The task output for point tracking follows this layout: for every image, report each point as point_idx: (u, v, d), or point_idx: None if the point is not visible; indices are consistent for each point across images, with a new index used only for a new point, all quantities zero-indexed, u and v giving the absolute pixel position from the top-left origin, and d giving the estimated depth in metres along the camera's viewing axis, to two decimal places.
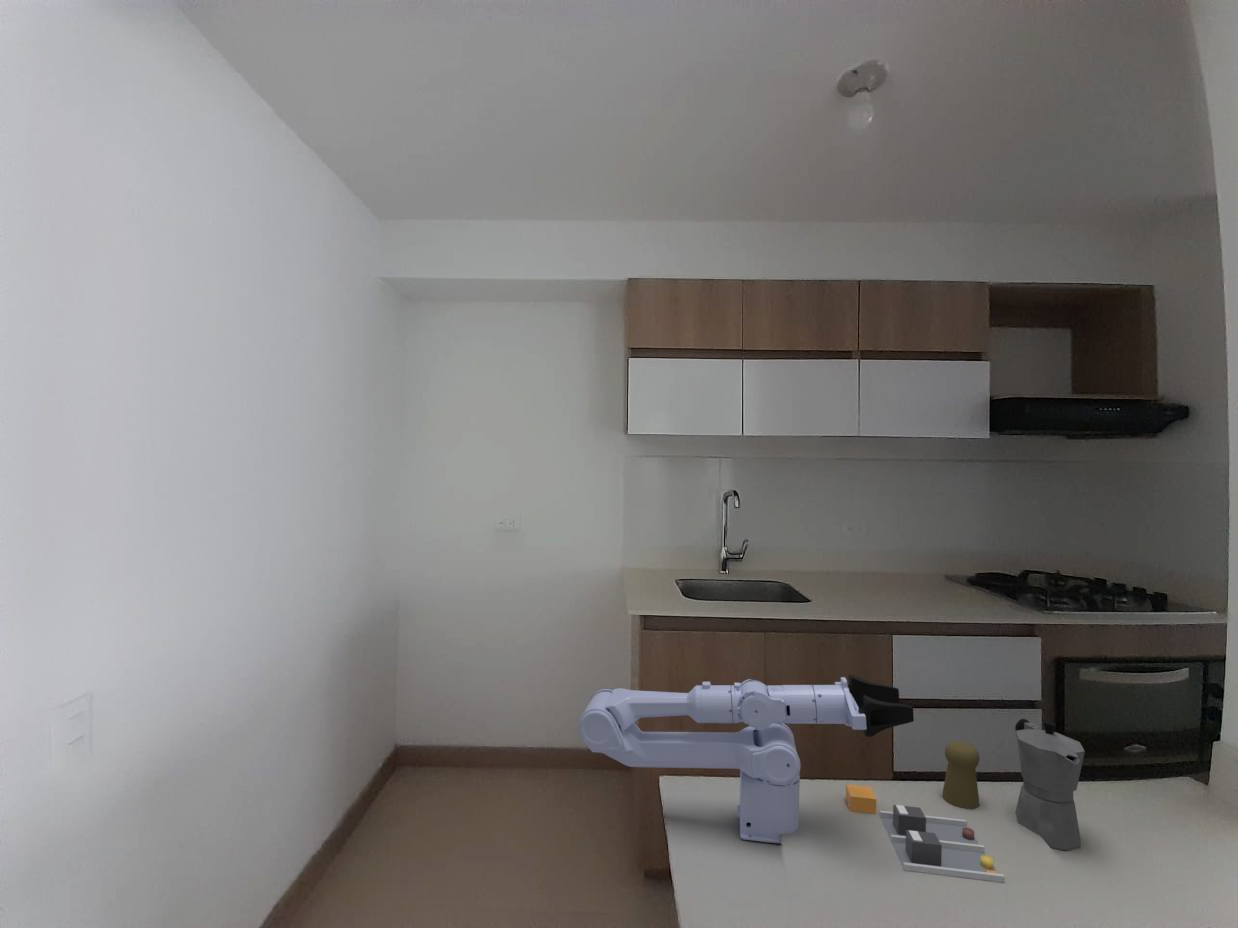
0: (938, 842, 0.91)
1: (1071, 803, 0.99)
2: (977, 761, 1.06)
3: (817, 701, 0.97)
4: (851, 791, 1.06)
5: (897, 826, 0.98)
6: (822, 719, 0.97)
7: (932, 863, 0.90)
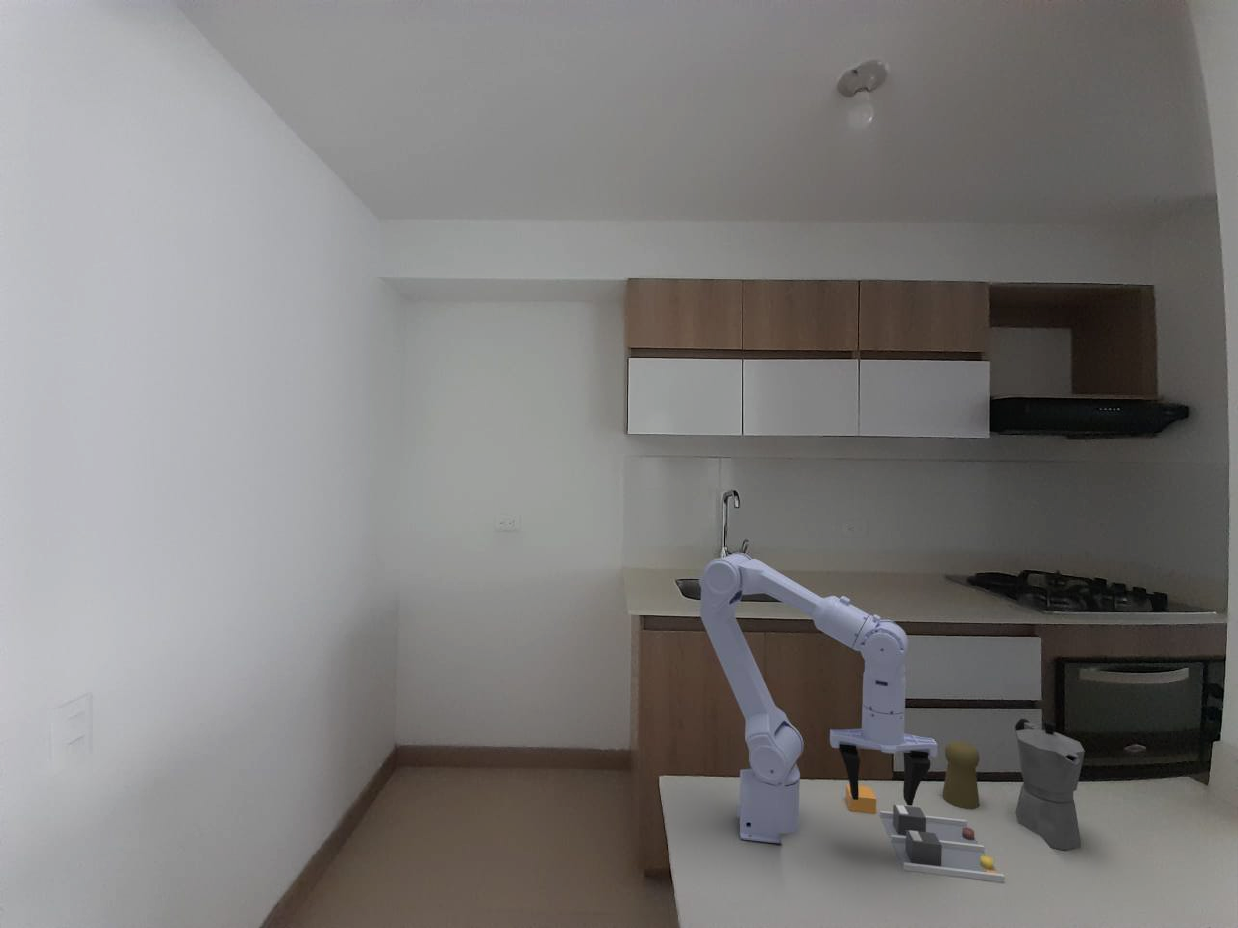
0: (938, 842, 0.91)
1: (1071, 803, 0.99)
2: (977, 761, 1.06)
3: (867, 710, 0.92)
4: None
5: (897, 826, 0.98)
6: None
7: (932, 863, 0.90)
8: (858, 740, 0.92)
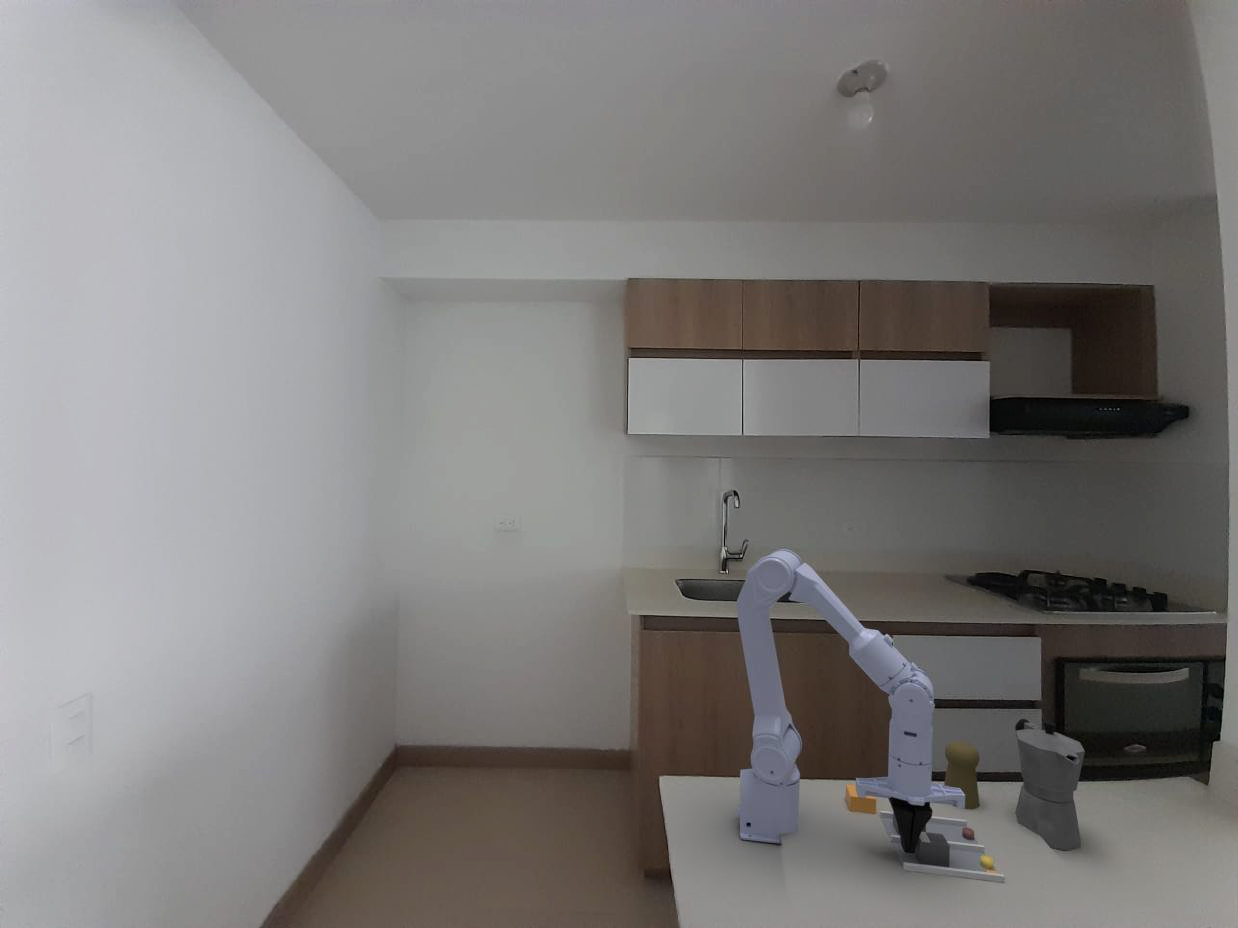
0: (946, 843, 0.91)
1: (1071, 803, 0.99)
2: (977, 761, 1.06)
3: (894, 760, 0.91)
4: (851, 791, 1.06)
5: (897, 826, 0.98)
6: None
7: (940, 864, 0.90)
8: (885, 790, 0.91)
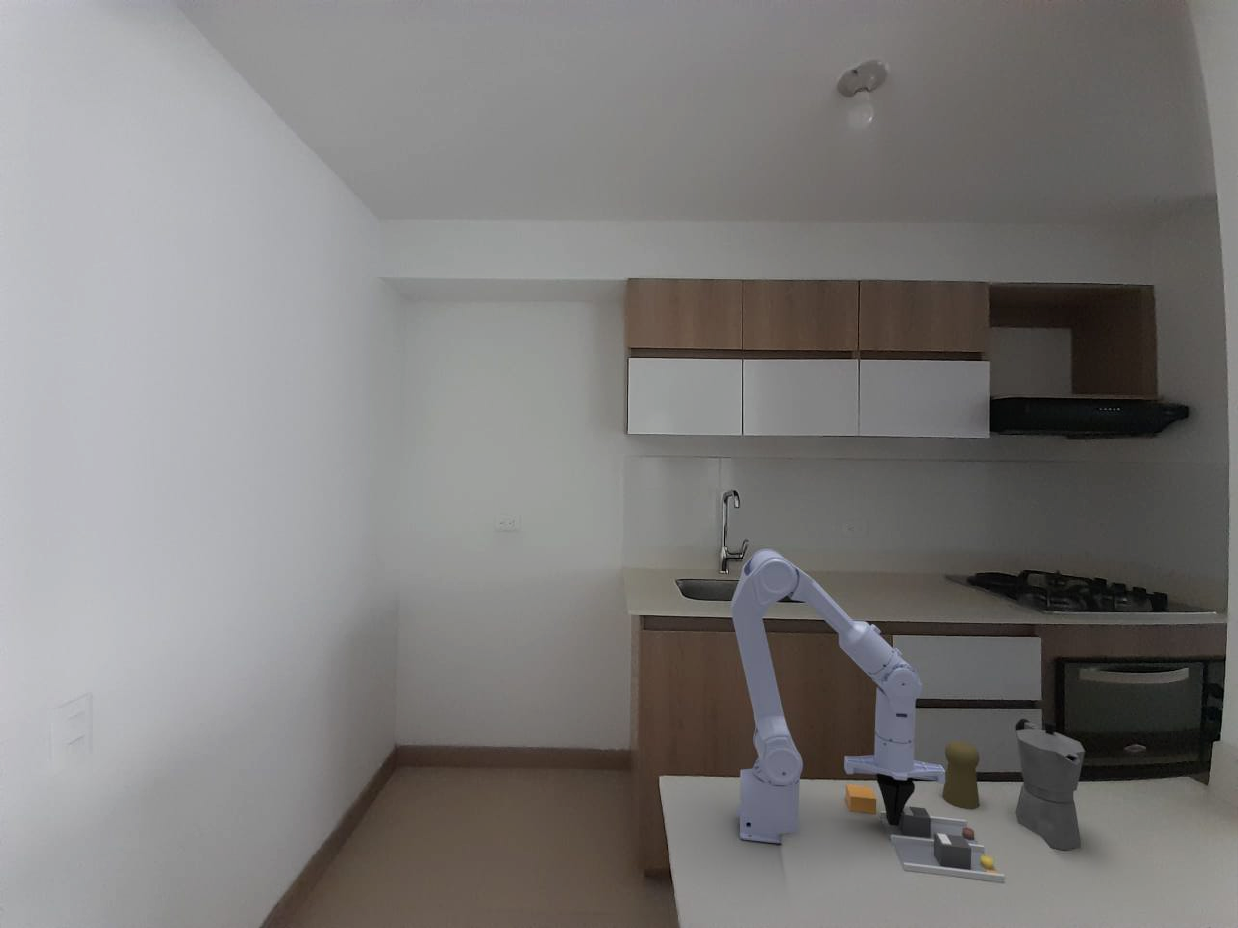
0: (967, 845, 0.90)
1: (1071, 803, 0.99)
2: (977, 761, 1.06)
3: (879, 738, 0.98)
4: (851, 791, 1.06)
5: (902, 827, 0.98)
6: None
7: (961, 867, 0.90)
8: (871, 767, 0.98)
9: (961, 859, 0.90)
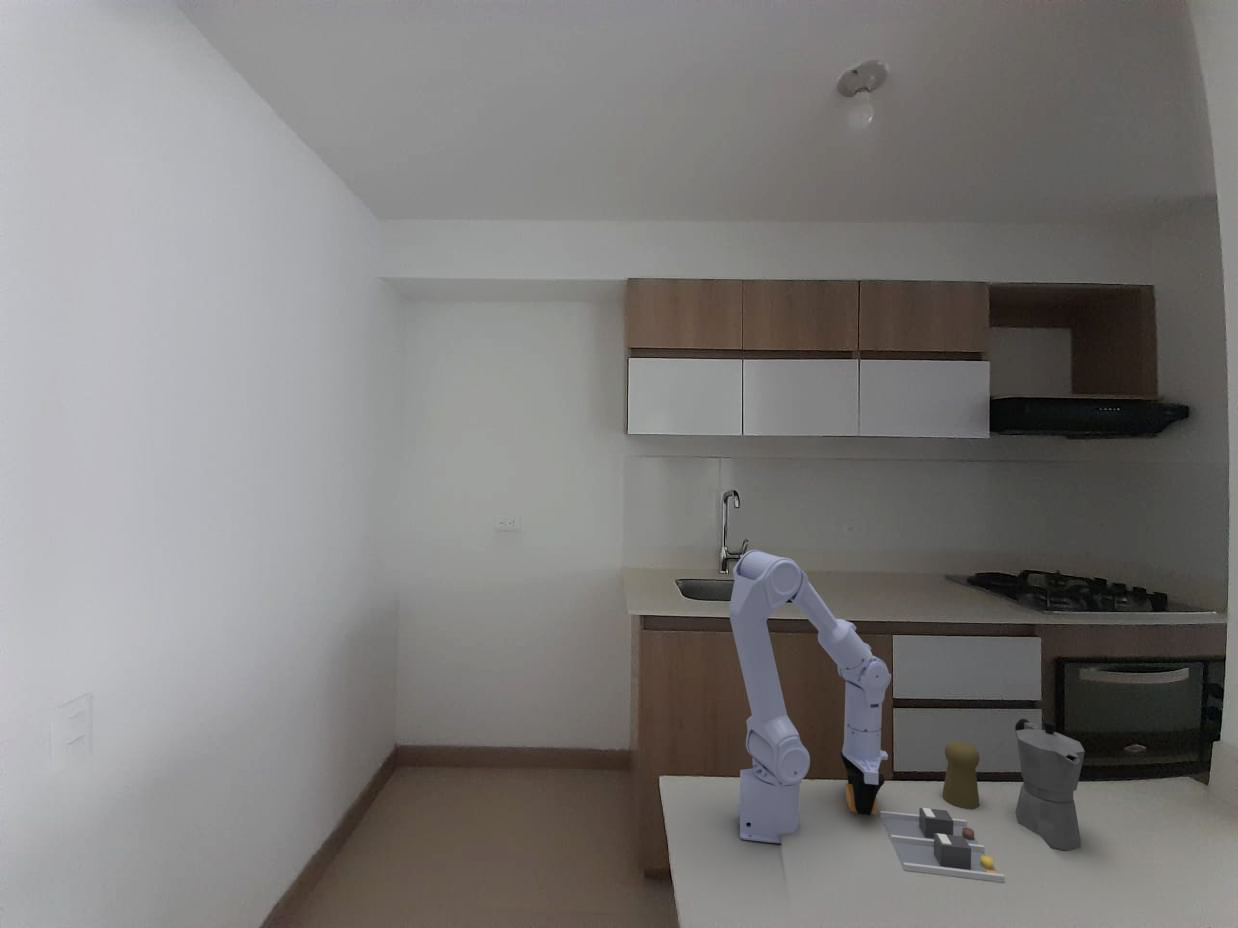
0: (967, 845, 0.90)
1: (1071, 803, 0.99)
2: (977, 761, 1.06)
3: (874, 733, 1.03)
4: (851, 790, 1.06)
5: (924, 829, 0.97)
6: (856, 735, 1.03)
7: (961, 867, 0.90)
8: (879, 763, 1.02)
9: (961, 859, 0.90)
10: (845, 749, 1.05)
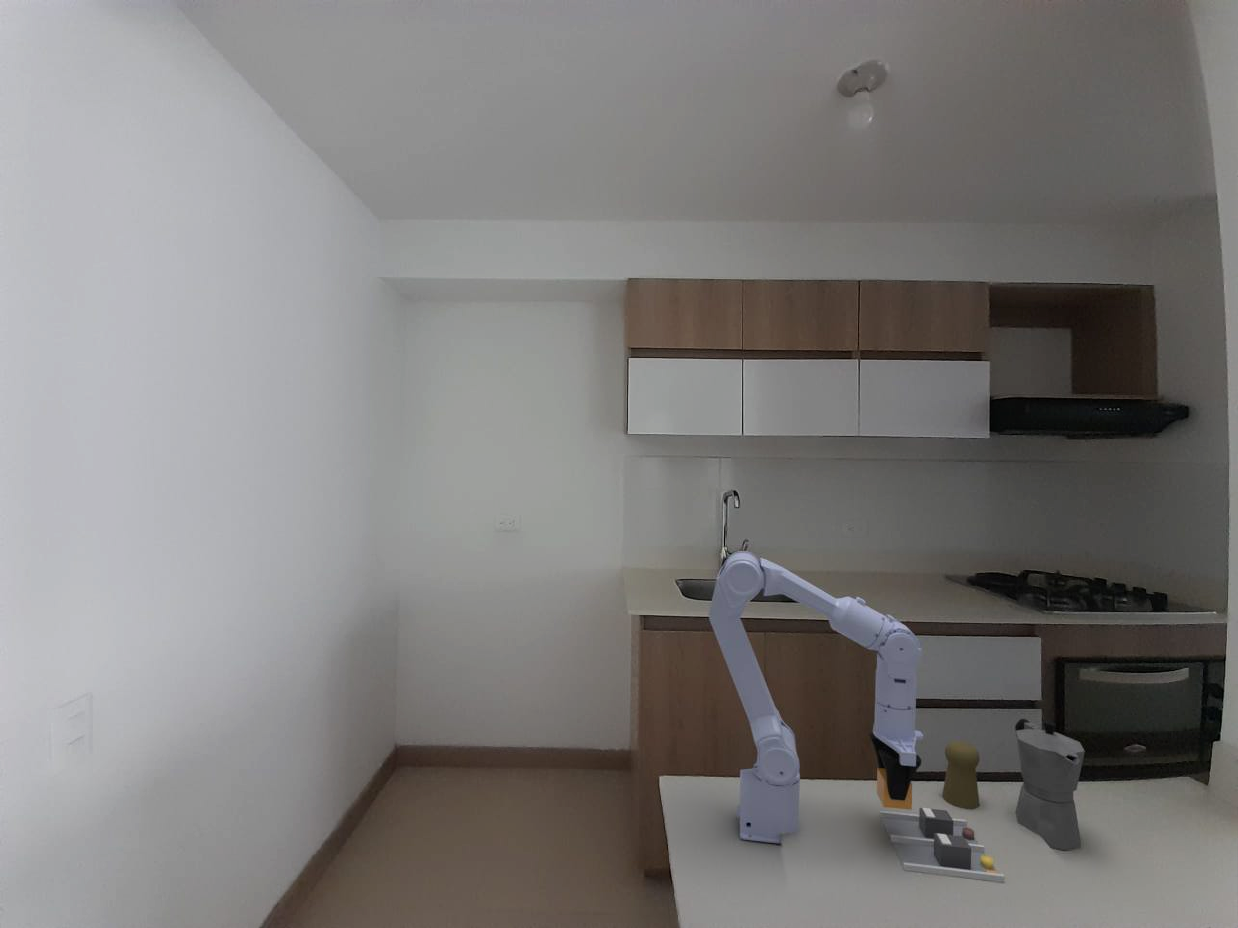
0: (967, 845, 0.90)
1: (1071, 803, 0.99)
2: (977, 761, 1.06)
3: (909, 711, 0.94)
4: (884, 775, 0.97)
5: (924, 829, 0.97)
6: (889, 713, 0.95)
7: (961, 867, 0.90)
8: (915, 743, 0.93)
9: (961, 859, 0.90)
10: (876, 729, 0.97)
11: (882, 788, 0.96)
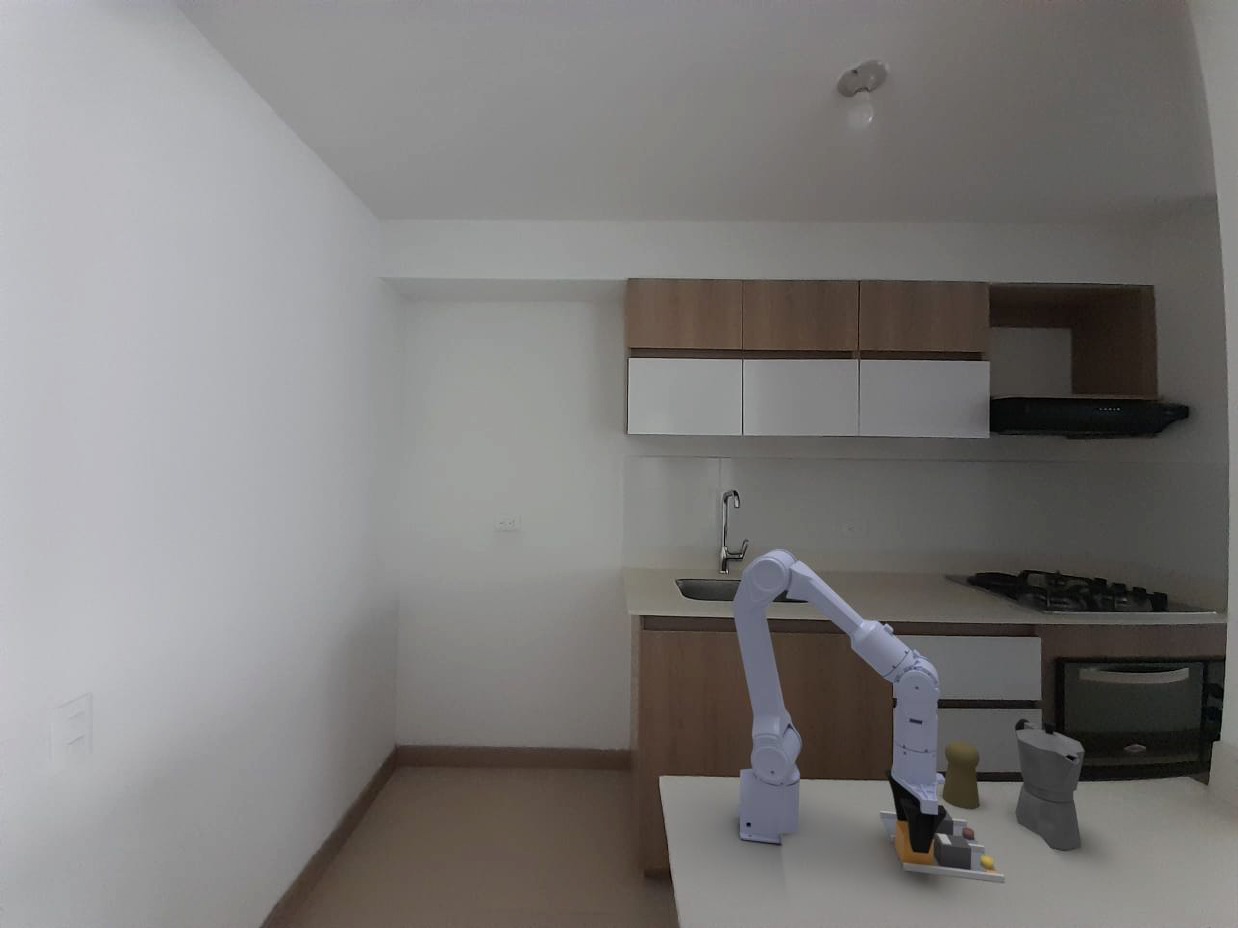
0: (967, 845, 0.90)
1: (1071, 803, 0.99)
2: (977, 761, 1.06)
3: (930, 753, 0.89)
4: (903, 829, 0.92)
5: None
6: (909, 755, 0.90)
7: (961, 867, 0.90)
8: (936, 789, 0.88)
9: (961, 859, 0.90)
10: (895, 771, 0.92)
11: (901, 843, 0.91)
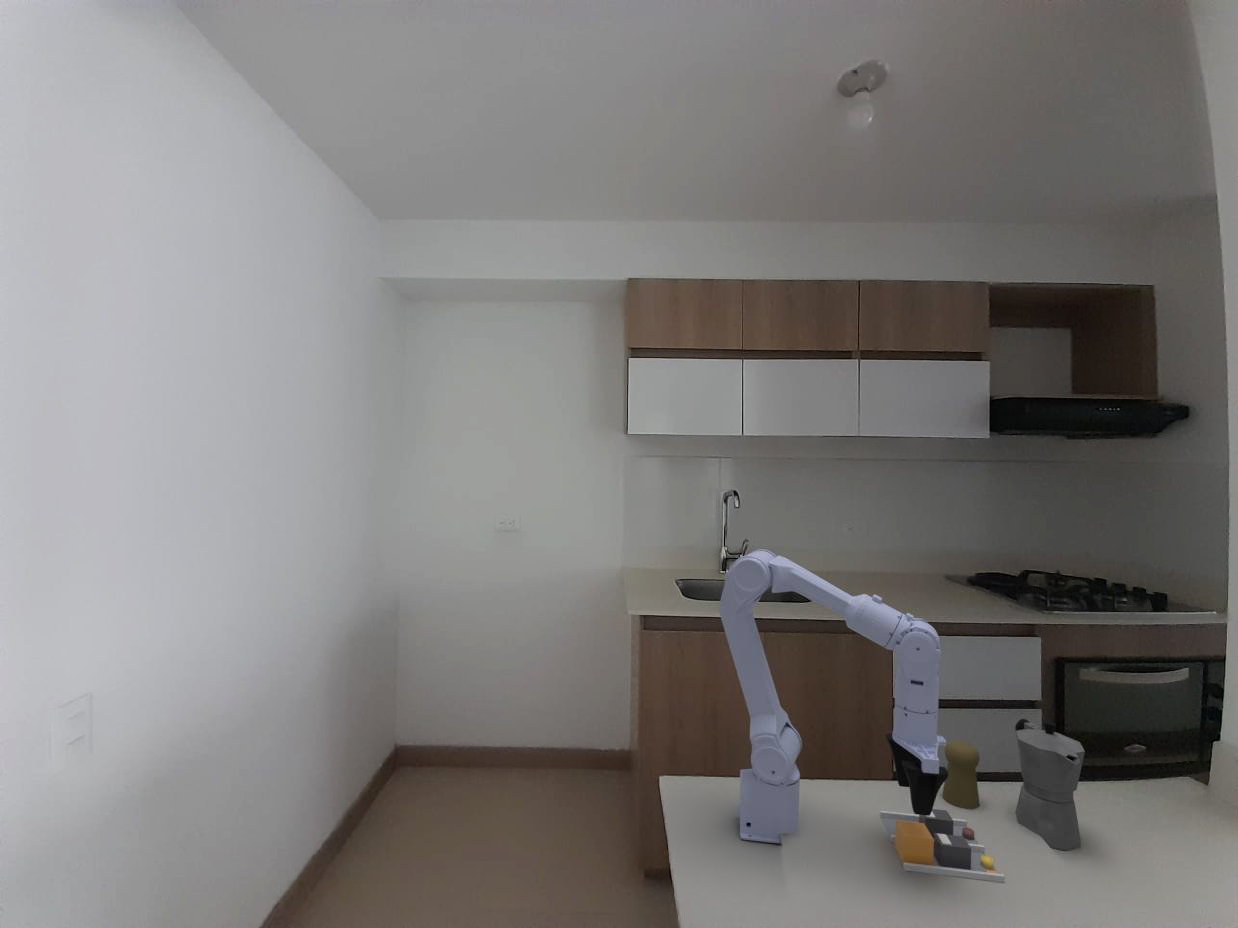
0: (967, 845, 0.90)
1: (1071, 803, 0.99)
2: (977, 761, 1.06)
3: (931, 715, 0.89)
4: (903, 829, 0.92)
5: None
6: (910, 717, 0.90)
7: (961, 867, 0.90)
8: (937, 749, 0.88)
9: (961, 859, 0.90)
10: (896, 734, 0.92)
11: (901, 843, 0.91)
